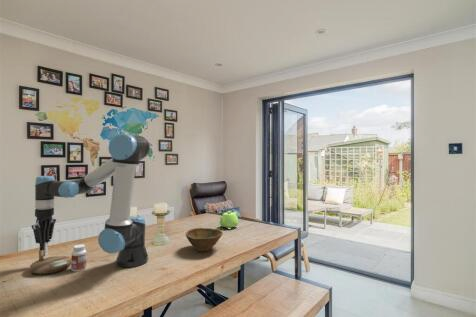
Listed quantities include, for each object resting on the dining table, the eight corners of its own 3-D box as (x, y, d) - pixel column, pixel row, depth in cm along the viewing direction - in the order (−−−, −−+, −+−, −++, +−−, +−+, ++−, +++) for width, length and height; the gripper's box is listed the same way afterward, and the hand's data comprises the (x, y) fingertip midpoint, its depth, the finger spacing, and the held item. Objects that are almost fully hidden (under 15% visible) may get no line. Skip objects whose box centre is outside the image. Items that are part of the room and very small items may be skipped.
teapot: (226, 231, 196) (227, 214, 196) (213, 228, 204) (214, 211, 204) (243, 226, 211) (243, 210, 211) (230, 223, 220) (231, 208, 220)
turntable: (78, 262, 132) (79, 248, 132) (47, 275, 117) (47, 260, 117) (54, 258, 137) (54, 244, 137) (21, 270, 121) (21, 255, 121)
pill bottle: (69, 269, 127) (69, 245, 127) (83, 265, 131) (83, 242, 131) (73, 273, 123) (74, 249, 123) (88, 269, 127) (88, 245, 127)
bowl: (230, 249, 159) (231, 232, 159) (200, 259, 143) (201, 240, 142) (206, 240, 174) (207, 225, 174) (177, 248, 157) (177, 232, 157)
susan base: (71, 267, 129) (71, 265, 129) (42, 276, 119) (42, 274, 119) (58, 261, 135) (58, 260, 135) (30, 269, 125) (30, 268, 125)
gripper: (47, 204, 136) (46, 250, 137) (26, 210, 123) (25, 260, 124) (61, 205, 136) (60, 251, 136) (41, 211, 123) (40, 261, 124)
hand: (43, 255), depth 130 cm, fingers closed
